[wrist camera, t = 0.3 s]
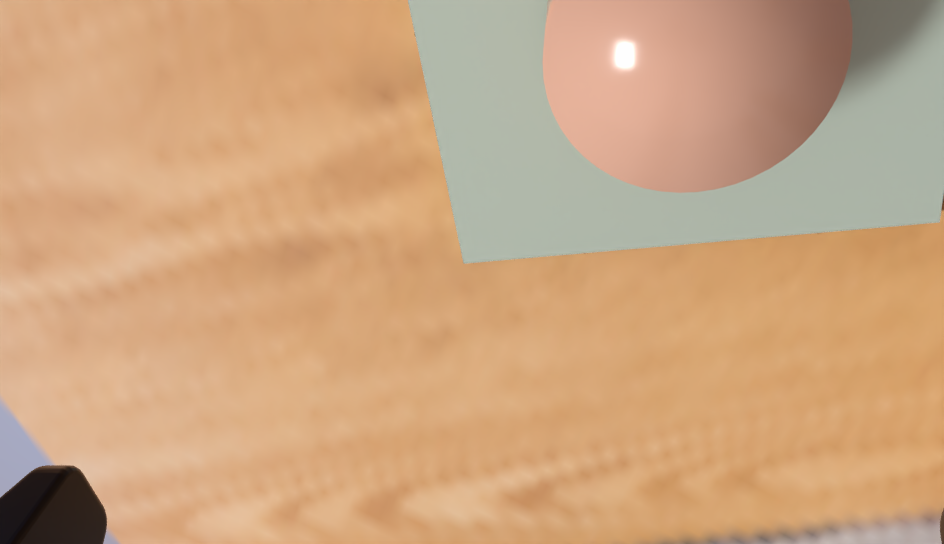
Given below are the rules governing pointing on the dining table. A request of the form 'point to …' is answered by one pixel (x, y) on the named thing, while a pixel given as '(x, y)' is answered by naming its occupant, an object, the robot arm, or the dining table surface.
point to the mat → (668, 213)
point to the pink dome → (693, 84)
